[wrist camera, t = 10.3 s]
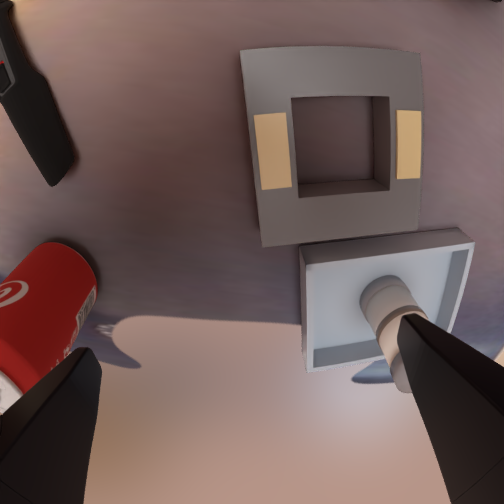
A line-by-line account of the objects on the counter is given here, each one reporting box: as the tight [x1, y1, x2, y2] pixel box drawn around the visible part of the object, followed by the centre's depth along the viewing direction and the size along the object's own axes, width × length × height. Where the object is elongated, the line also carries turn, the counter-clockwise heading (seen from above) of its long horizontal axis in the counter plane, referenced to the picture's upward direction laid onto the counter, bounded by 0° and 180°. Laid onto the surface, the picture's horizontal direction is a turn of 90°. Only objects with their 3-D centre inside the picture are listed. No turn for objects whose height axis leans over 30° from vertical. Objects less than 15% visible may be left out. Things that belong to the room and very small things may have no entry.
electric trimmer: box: [0, 0, 74, 187], centre depth 14 cm, size 4×16×3 cm, turn 26°
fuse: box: [359, 275, 429, 393], centre depth 20 cm, size 4×4×8 cm
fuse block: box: [240, 46, 424, 248], centre depth 17 cm, size 10×11×3 cm
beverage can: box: [0, 242, 98, 413], centre depth 17 cm, size 6×6×12 cm
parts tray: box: [299, 228, 475, 373], centre depth 23 cm, size 13×10×2 cm
